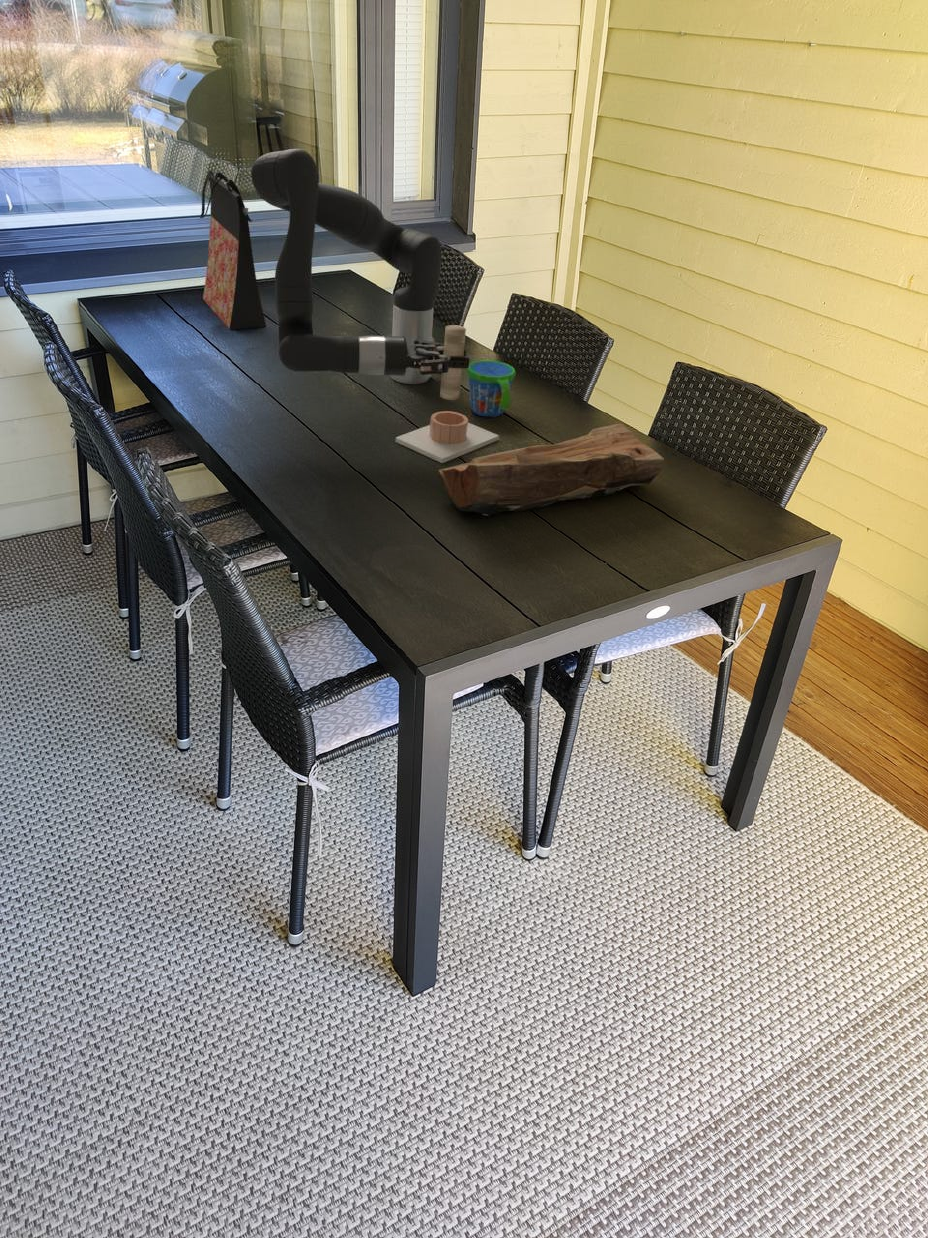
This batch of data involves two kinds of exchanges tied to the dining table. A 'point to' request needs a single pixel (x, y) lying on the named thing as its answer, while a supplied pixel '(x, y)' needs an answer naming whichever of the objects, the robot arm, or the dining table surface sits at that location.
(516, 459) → the log
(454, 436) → the ring
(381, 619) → the dining table surface
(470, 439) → the stand board
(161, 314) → the dining table surface
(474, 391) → the snack cup
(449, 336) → the ash dowel
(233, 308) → the gift bag
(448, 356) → the robot arm
